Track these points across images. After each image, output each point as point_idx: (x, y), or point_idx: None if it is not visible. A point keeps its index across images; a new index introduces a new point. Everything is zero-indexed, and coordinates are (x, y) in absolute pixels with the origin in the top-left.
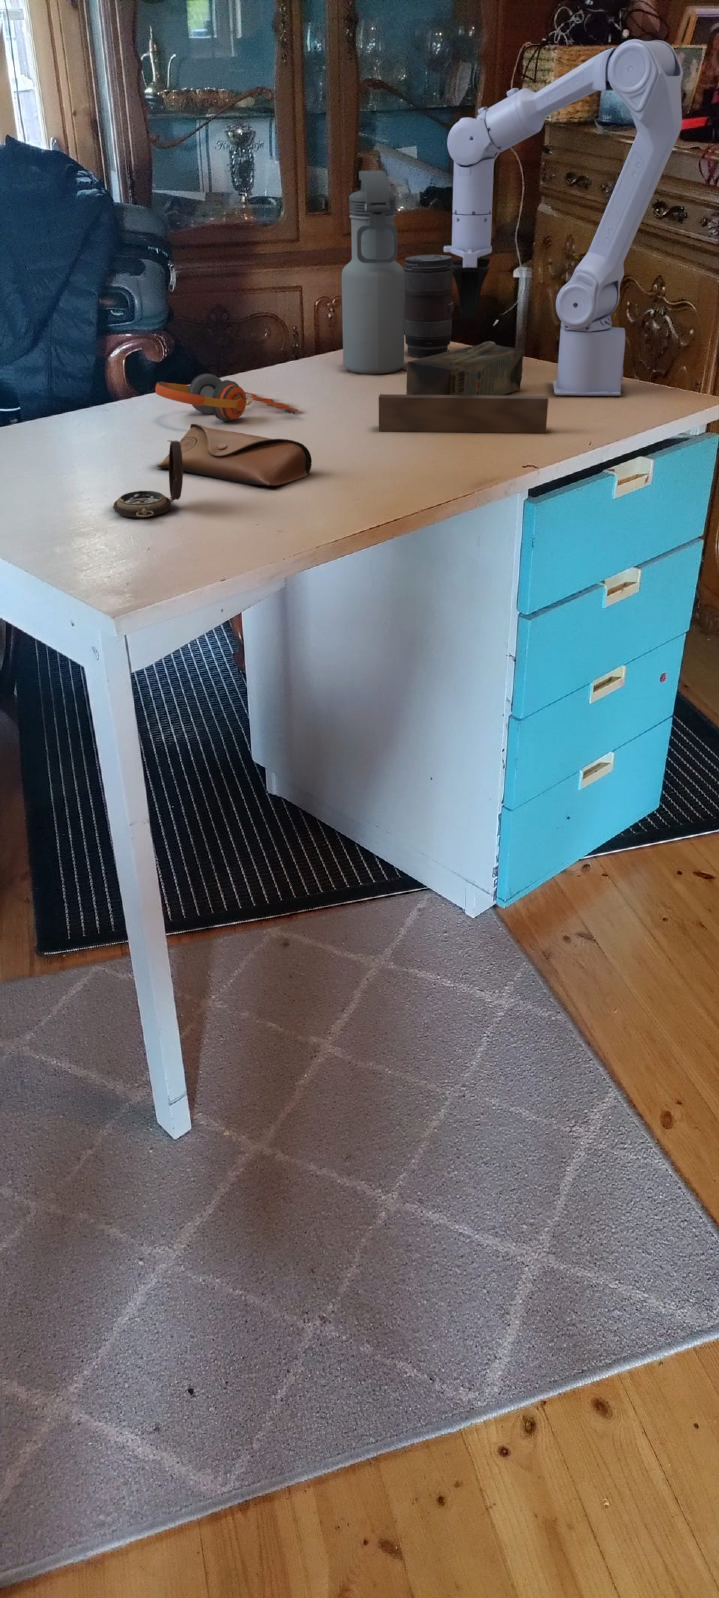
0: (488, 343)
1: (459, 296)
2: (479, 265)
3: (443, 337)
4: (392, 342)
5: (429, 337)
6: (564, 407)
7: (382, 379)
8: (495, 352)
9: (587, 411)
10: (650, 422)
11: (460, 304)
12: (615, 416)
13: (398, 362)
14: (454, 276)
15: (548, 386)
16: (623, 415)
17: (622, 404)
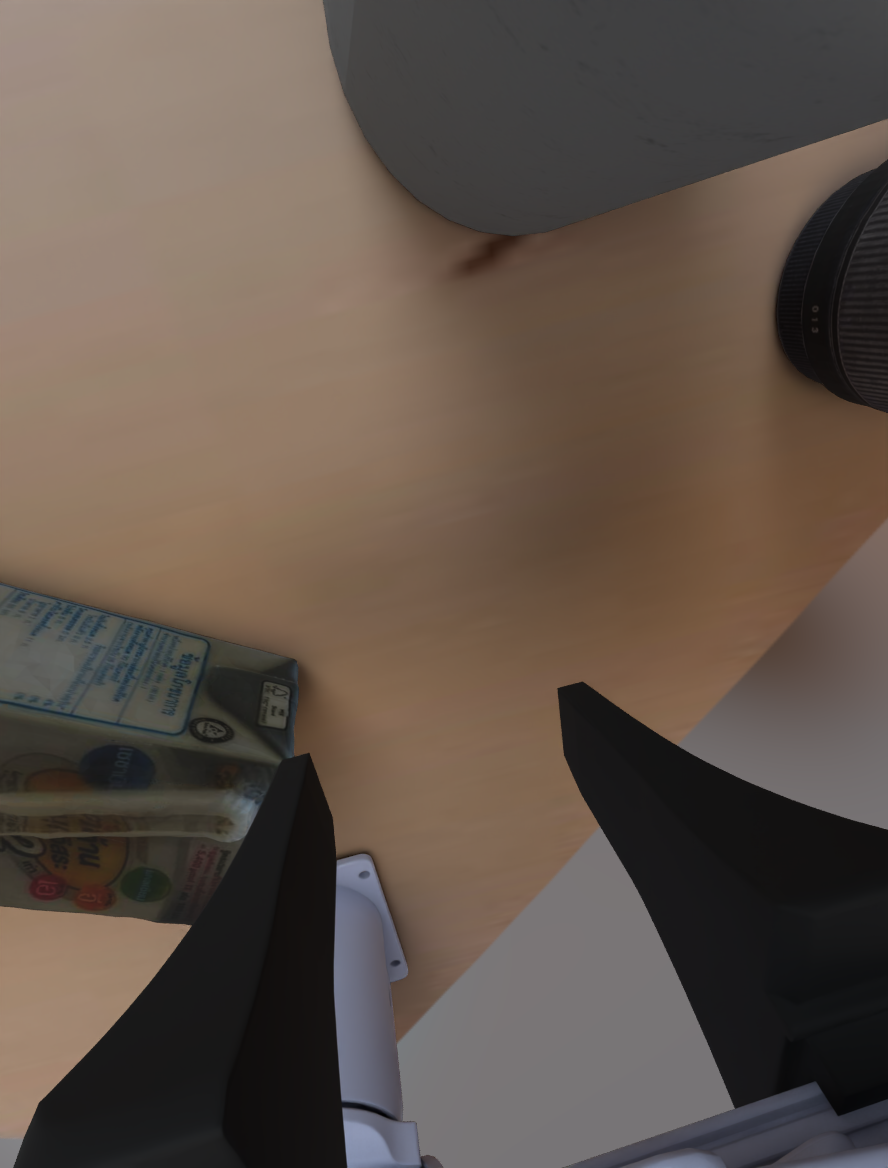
0: (210, 823)
1: (228, 873)
2: (736, 1054)
3: (852, 392)
4: (427, 158)
5: (836, 321)
6: (64, 949)
7: (247, 165)
8: (102, 866)
9: (46, 1001)
10: (6, 1118)
11: (254, 822)
12: (26, 1057)
13: (453, 217)
14: (79, 1069)
15: (339, 844)
16: (49, 1065)
17: None
